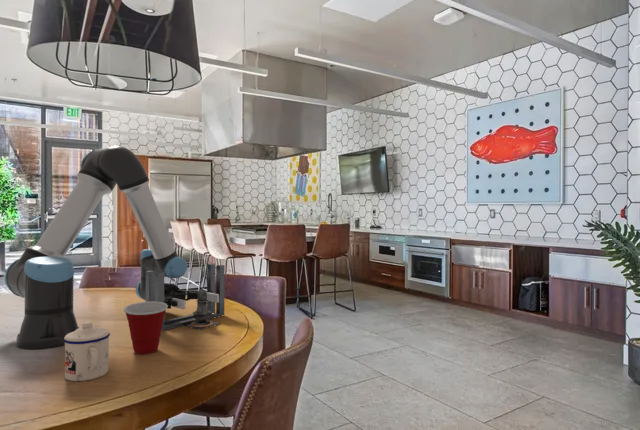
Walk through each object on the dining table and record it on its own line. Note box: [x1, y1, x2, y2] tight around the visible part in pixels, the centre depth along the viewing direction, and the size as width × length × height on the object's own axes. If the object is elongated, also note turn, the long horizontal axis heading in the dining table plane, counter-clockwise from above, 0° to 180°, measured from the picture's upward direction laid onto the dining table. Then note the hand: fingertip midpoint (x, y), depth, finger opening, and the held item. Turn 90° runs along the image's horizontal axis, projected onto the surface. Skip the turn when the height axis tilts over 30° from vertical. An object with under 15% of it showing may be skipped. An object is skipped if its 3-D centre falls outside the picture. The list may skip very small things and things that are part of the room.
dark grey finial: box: [192, 286, 211, 326], centre depth 136 cm, size 6×6×12 cm
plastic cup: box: [123, 301, 168, 355], centre depth 110 cm, size 11×11×12 cm
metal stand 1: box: [145, 263, 216, 325], centre depth 143 cm, size 2×26×18 cm, turn 143°
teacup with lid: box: [64, 321, 111, 382], centre depth 93 cm, size 12×9×12 cm
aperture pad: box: [183, 319, 221, 330], centre depth 136 cm, size 8×8×1 cm
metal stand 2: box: [155, 264, 226, 332], centre depth 140 cm, size 2×26×18 cm, turn 143°
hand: (201, 301), depth 138 cm, fingers open, 12 cm apart
